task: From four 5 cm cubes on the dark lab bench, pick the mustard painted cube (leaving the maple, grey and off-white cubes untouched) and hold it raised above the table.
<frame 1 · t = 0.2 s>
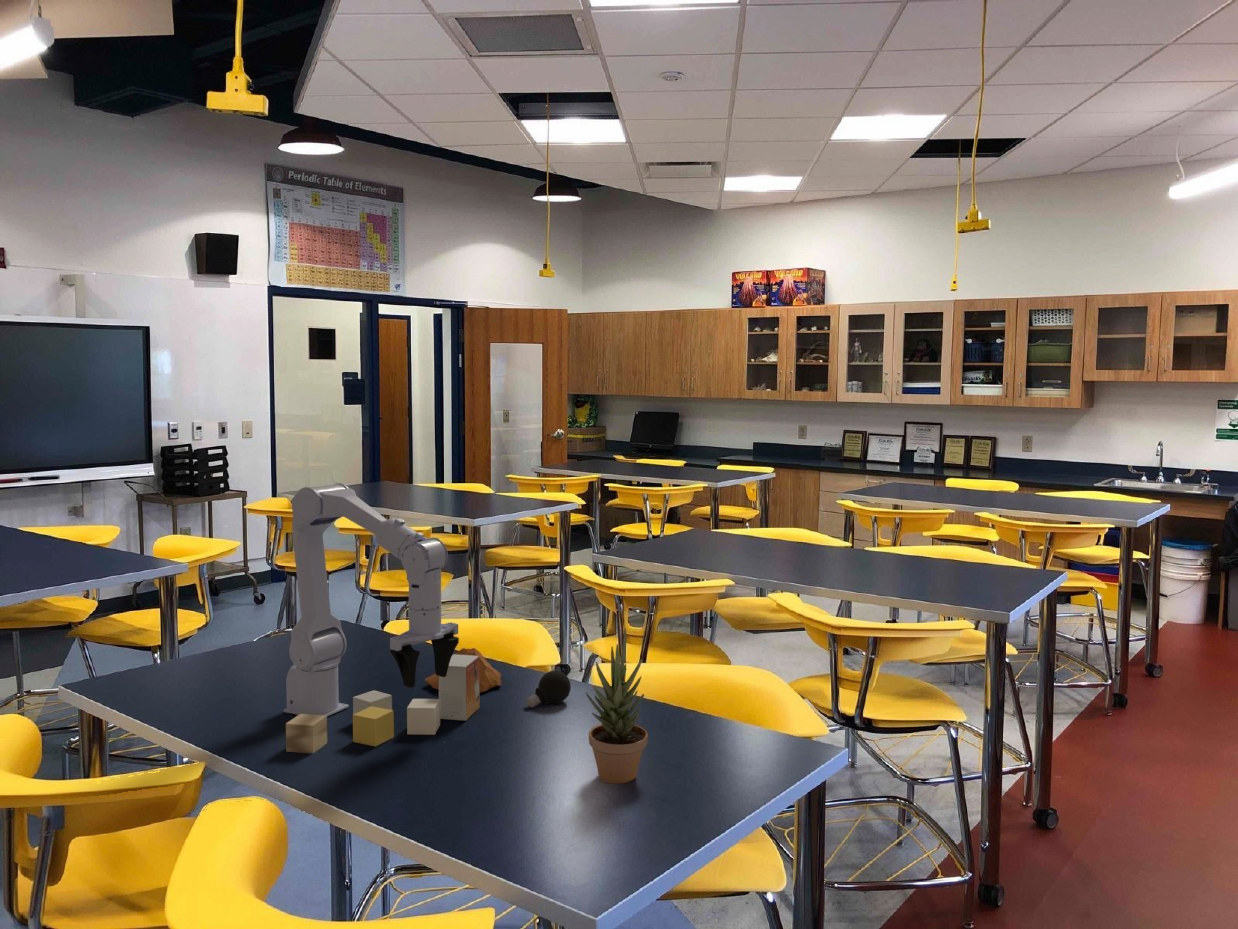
hand: (425, 681, 172), 10 cm above the table, fingers open, 7 cm apart
white cube: (423, 729, 175), on the table
light bulb: (550, 705, 190), on the table
potted plant: (618, 777, 155), on the table
small box: (459, 714, 184), on the table
stone: (465, 687, 201), on the table
grey cube: (372, 722, 179), on the table
mustard cube: (373, 739, 170), on the table
maple cube: (307, 747, 166), on the table
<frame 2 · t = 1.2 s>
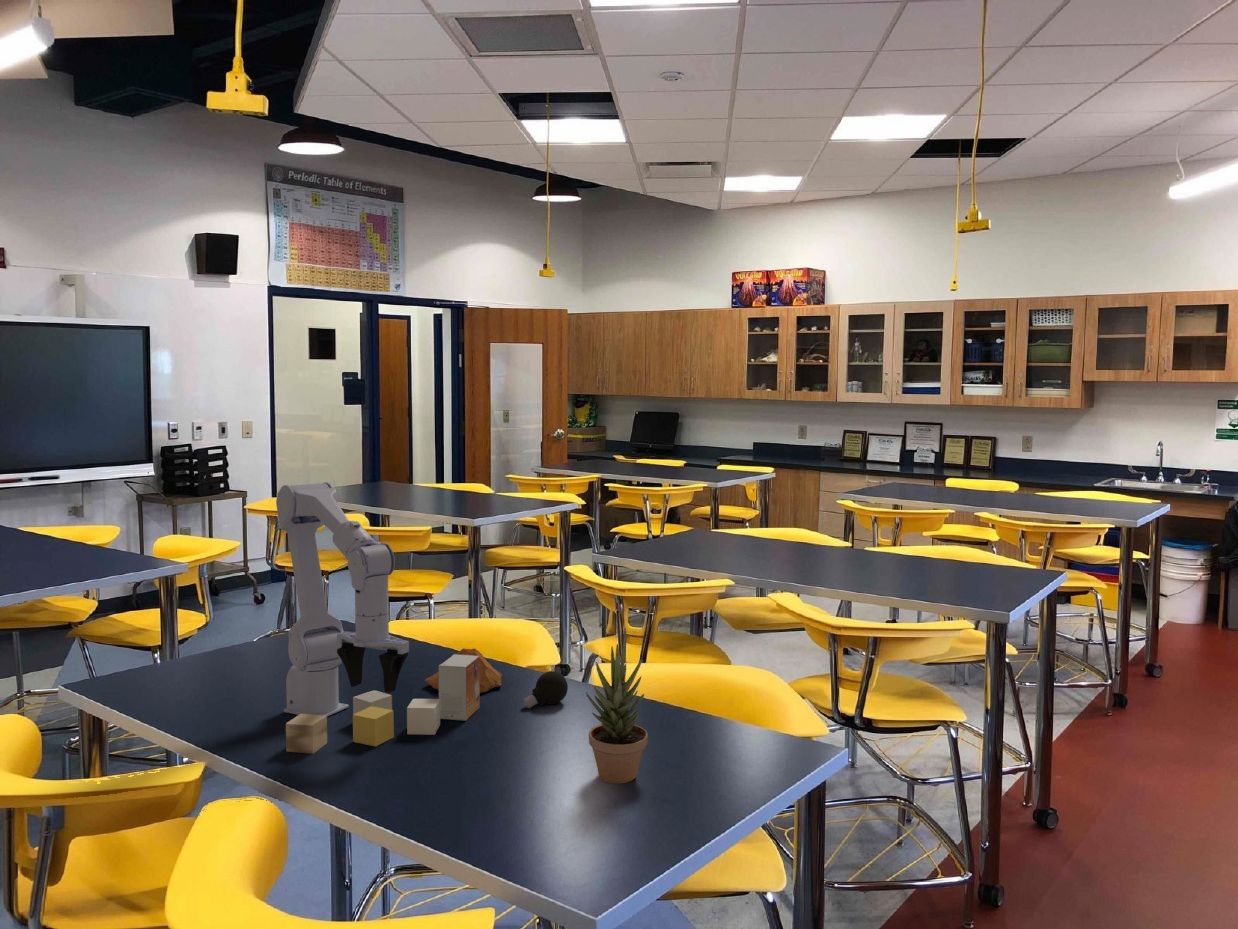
hand: (373, 688, 169), 9 cm above the table, fingers open, 7 cm apart
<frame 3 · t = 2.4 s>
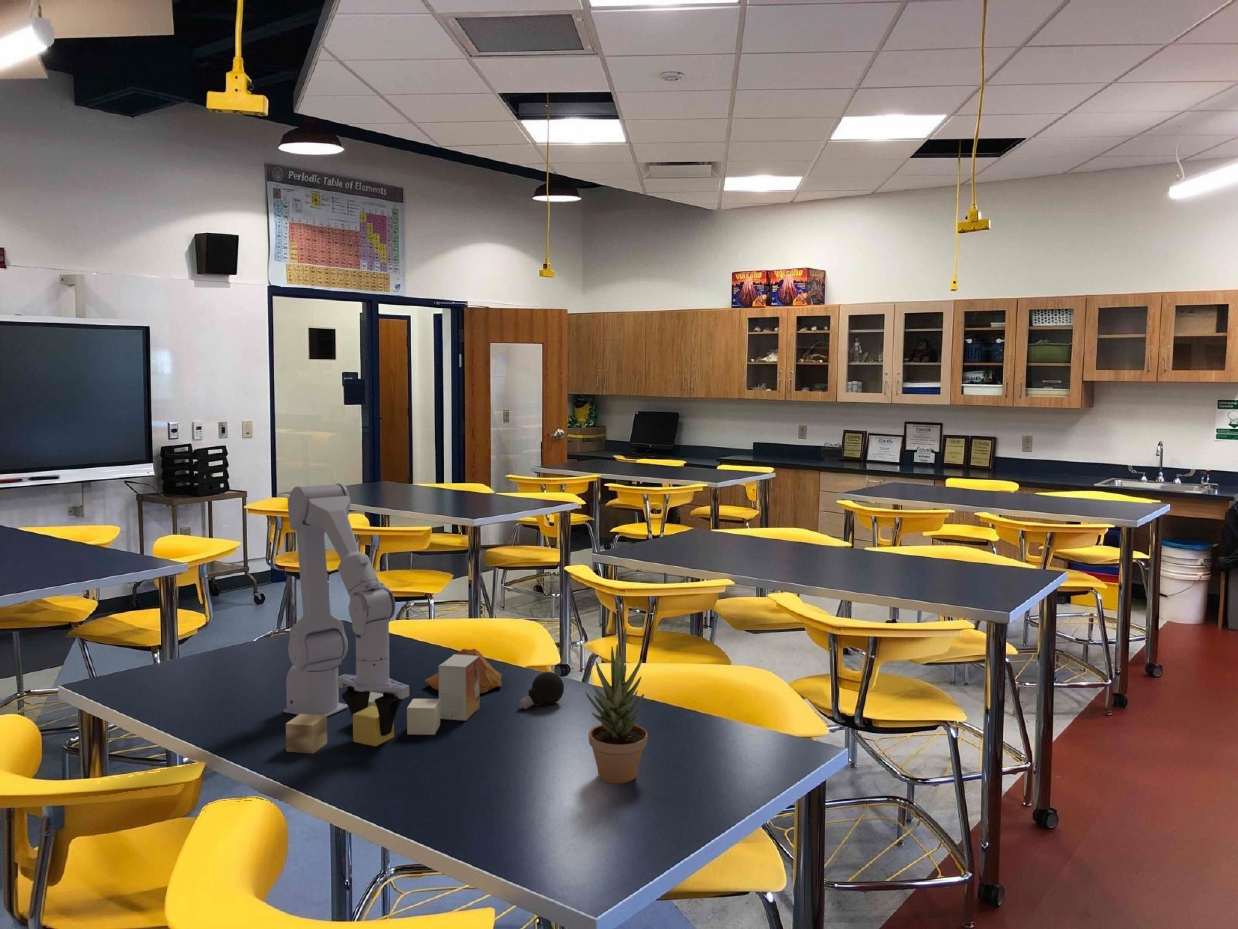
hand: (373, 731, 170), 1 cm above the table, fingers closed on mustard cube, 5 cm apart
mustard cube: (373, 739, 170), on the table, touching gripper
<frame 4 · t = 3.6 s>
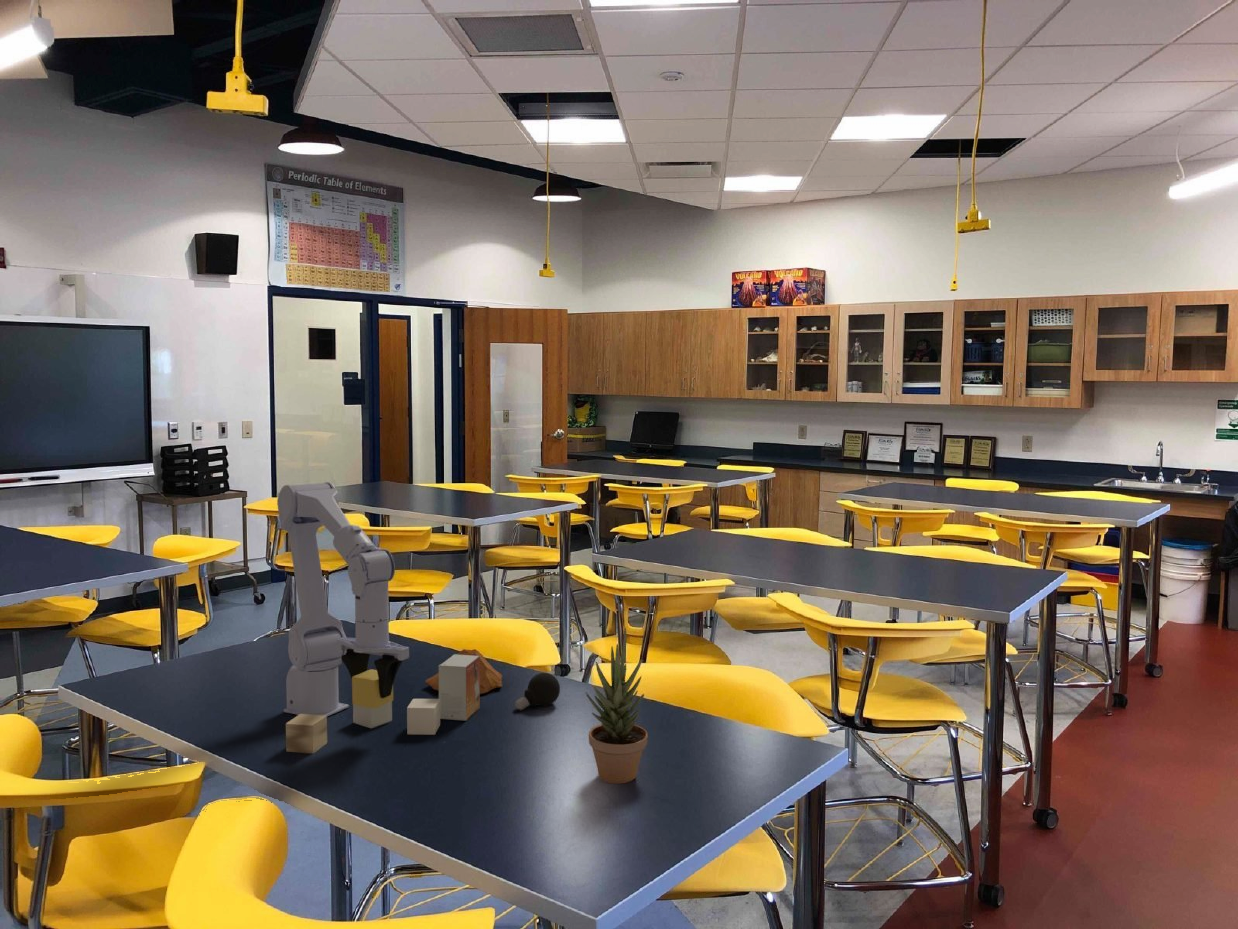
hand: (373, 694, 169), 8 cm above the table, fingers closed on mustard cube, 5 cm apart
mustard cube: (373, 702, 169), point 7 cm above the table, touching gripper
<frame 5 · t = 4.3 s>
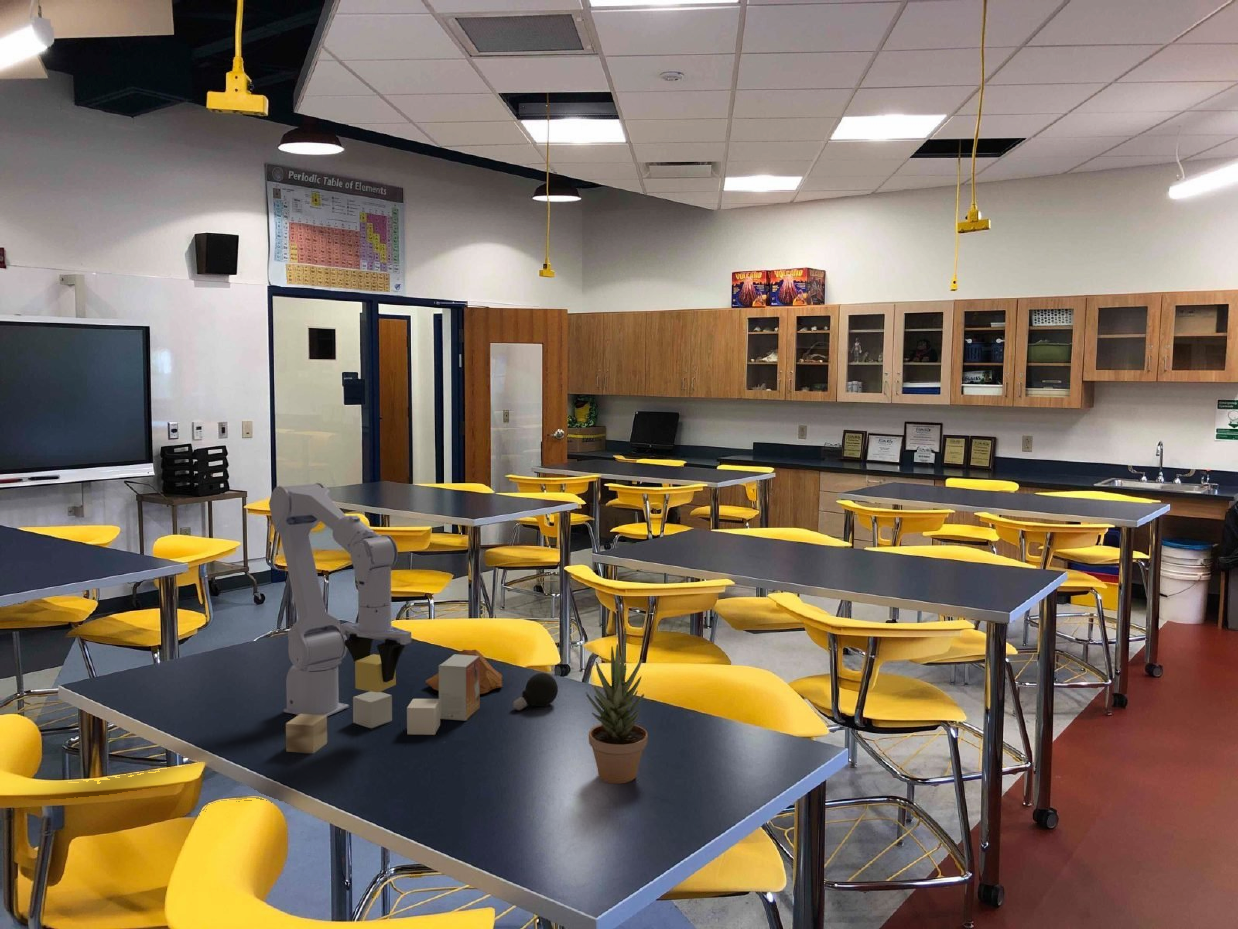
hand: (375, 678, 171), 10 cm above the table, fingers closed on mustard cube, 5 cm apart
mustard cube: (375, 686, 171), point 9 cm above the table, touching gripper
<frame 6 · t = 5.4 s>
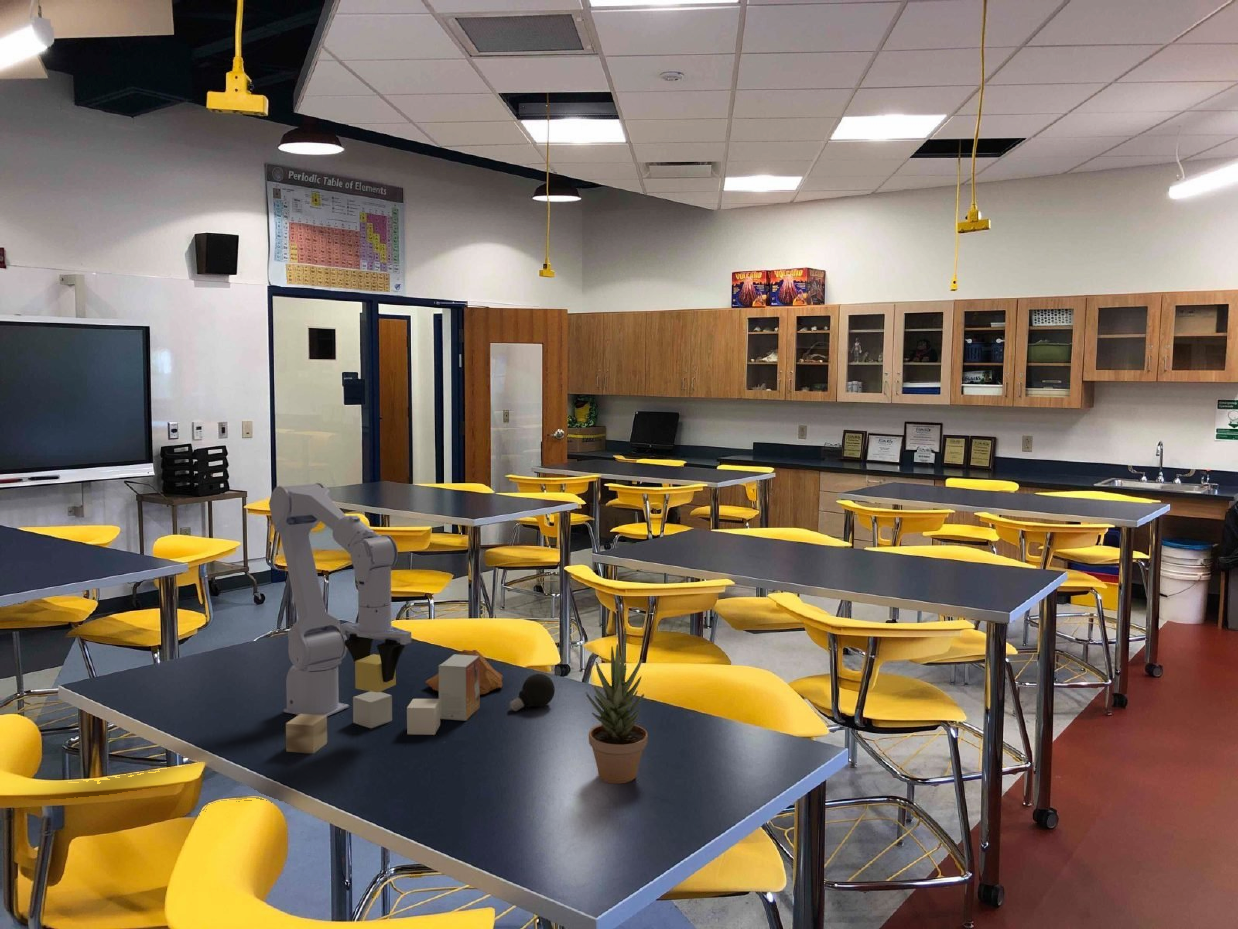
hand: (375, 678, 171), 10 cm above the table, fingers closed on mustard cube, 5 cm apart
mustard cube: (375, 686, 171), point 9 cm above the table, touching gripper
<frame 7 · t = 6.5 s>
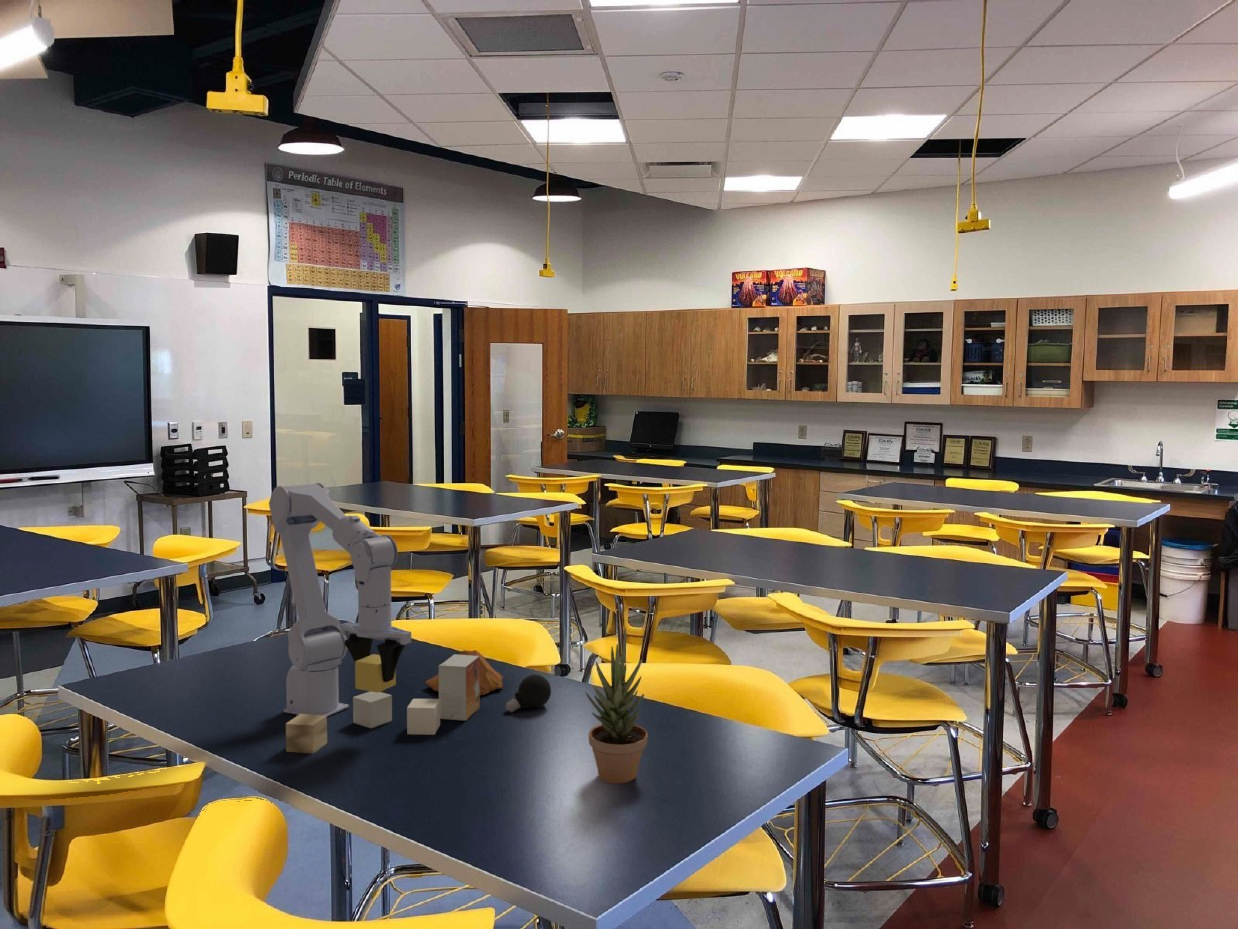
hand: (375, 678, 171), 10 cm above the table, fingers closed on mustard cube, 5 cm apart
mustard cube: (375, 686, 171), point 9 cm above the table, touching gripper
at the end: the gripper is holding mustard cube; mustard cube point 8.9 cm above the table; white cube moved 0.1 cm from its start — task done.
